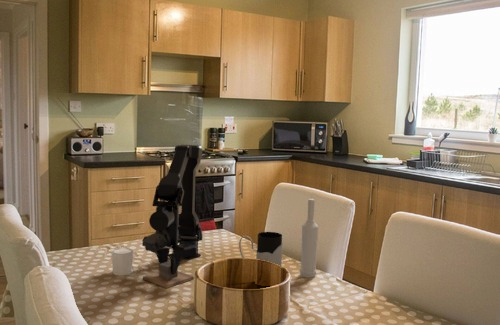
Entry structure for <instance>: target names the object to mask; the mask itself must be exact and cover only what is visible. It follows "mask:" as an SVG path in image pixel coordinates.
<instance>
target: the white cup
mask: <svg viewBox="0 0 500 325" xmlns="http://www.w3.org/2000/svg"><path fill="white" fill-rule="evenodd" d="M110 253H111V255H110V256H111V264H112V265H111V266H112V273H113V275H115V276H118V277H119V276H120V277H121V276H129V275H130V274H132V269H133V260H134V250H133V249H131V248H116V249H114V250H111V252H110Z"/></svg>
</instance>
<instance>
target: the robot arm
mask: <svg viewBox="0 0 500 325" xmlns="http://www.w3.org/2000/svg"><path fill="white" fill-rule="evenodd" d="M201 159H203V148H200V145H198V144H197V145H196V144H180V145H179V144H178V145H176V146H175V147H174V155H173V157H172V160H171V163H170V166H169V168H168V172H167V173H166V175H165V176H163V177H161V179H160V180H159V182H158V185H156V187H155V192H154V194H153V195H154V196H153V201H152V207H156V208H155V211H154V212H153V213H151V215H150V217H149V221H148V222H149V223H148V224H149V226H150V228H152V229H153V230H154V231H155V232H154V233H152V234H150V235H145V236H144V237H143V238H142V239H141V240H142V242H141V243H142V244H141V246H143V247H144V249H145V251H147V252H148V251H149V252H151V253H154V254H155V255H156V258H157V259H158V263H159V264H161V263H164V262H168V260H169V259H170V262H171V274H172V275H173V274H175V273H176V271H177V269H178V270H179V267H180V264H181V262H182V261H183V260H185V259H186V260H191V259H194V258H198V257H201V256H202V254H201V253H199V242H200V241H203V230H202V226H201V224H200V217H198V214H197V213H196V211H195V210H196V208H195V207H196V203H195V201H196V173H197V172H196V170H197V169H198V167H199V166H200V164H201V161H202V160H201ZM180 205H181V212H179V211H180V210H179V209H180V208H179V207H180ZM179 213H180V214H179ZM170 250H172V251H171V253H170Z"/></svg>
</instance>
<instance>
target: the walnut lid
mask: <svg viewBox="0 0 500 325" xmlns="http://www.w3.org/2000/svg"><path fill="white" fill-rule="evenodd" d="M178 270H179V268H178V269H177V271H176V273H175V274H173V275H172V274H171V260H170V261H167V262H164V263H161V264H160V263H159V264H158V271H156V272H153V273H150V274H147V275H144V276H142V280H144V281H147V282H149V283H152V284H155V285H156V286H160V287H163V288H164V289H168V288H171V287H175V286H177V285H180V284H183V283H186V282H189V281H193V280H194V278H195V277H194V276H193V275H190V274H187V273H184V272H182V271H178Z"/></svg>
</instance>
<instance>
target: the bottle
mask: <svg viewBox="0 0 500 325" xmlns="http://www.w3.org/2000/svg"><path fill="white" fill-rule="evenodd" d="M307 200H308V201H307V219H306V220H305V222H304V223H302V225H301V226H302V227H301V254H300V255H301V258H300V260H301V262H300V270H299V275H300V276H301V277H303V278H307V279H312V278H313V279H314V278H315V277H316V275H317V269H316V268H317V251H318V236H319V225H318V224H317V223H316V221H315V202H316V200H315V199H313V198H308V199H307Z"/></svg>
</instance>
